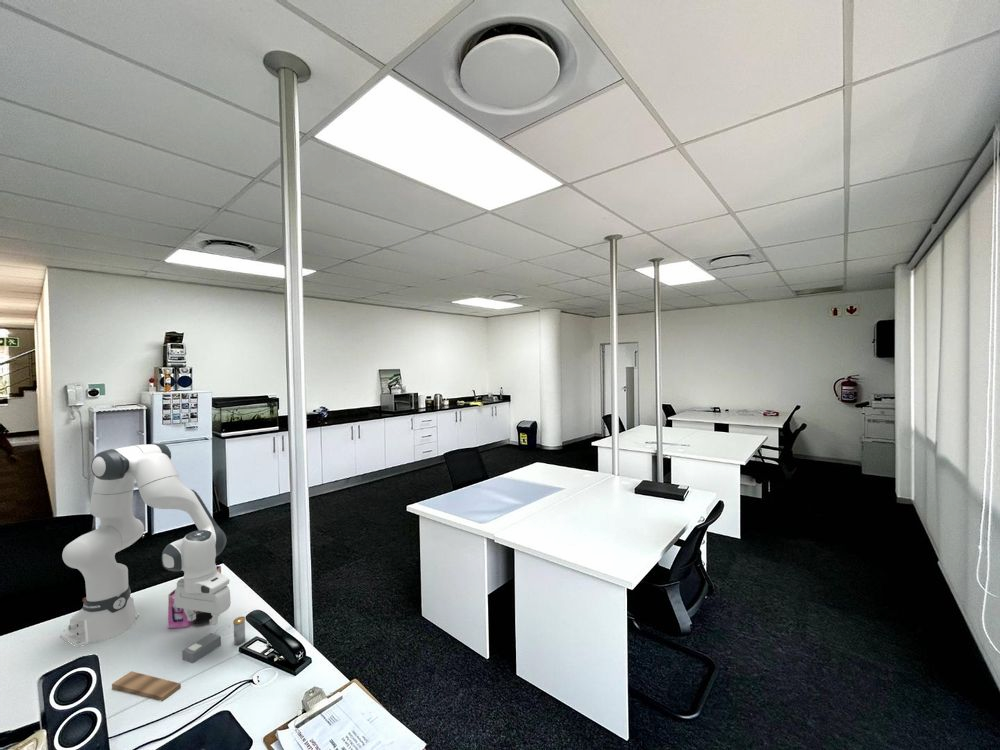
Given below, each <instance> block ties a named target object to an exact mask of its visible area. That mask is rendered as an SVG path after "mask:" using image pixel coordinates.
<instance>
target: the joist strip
mask: <svg viewBox="0 0 1000 750" xmlns="http://www.w3.org/2000/svg"><path fill="white" fill-rule="evenodd" d="M181 687H182V685H181V683H180V682H175V681H172V680H167V679H164V678H160V677H156V676H153V675H147V674H144V673H139V672H136V671H133V670H132V671H129V672H127V673H126V674H124V675H123V676H122V677H120V678H119V679H117V680H116V681H114V682H113V683H111V689H112V691H118V692H123V693H127V694H131V695H135V696H138V697H139V696H140V697H143V698H146V699H147V698H148V699H152V700H156V701H159V700H161V701H160V702H164V701H165V700H166V699H168V698H169V697H171V696H172V695H173V694H174V693H176V692H177V691H178V690H180V689H181ZM163 700H164V701H163Z"/></svg>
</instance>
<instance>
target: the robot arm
mask: <svg viewBox="0 0 1000 750" xmlns="http://www.w3.org/2000/svg"><path fill="white" fill-rule="evenodd" d="M90 467H91V472H92V474H93V476H94V477H95V478H94V481H93V485H92V489H91V497H90V504H89V513H90V514H91V515H92V516H93V517H96V518H99V521H100V525H99V527H98V528H96V529H94V530H91V531H88V532H87V533H84V534H81V535H80V536H78V537H77V538H75V539H74V540H72V541H71V542H69V543H68V544H66V545H65V547H64V548H63V551H62V554H61V556H62V557H61V558H62V560H63V562H64V564H65V565H66V566H67V567H69V568H71V569H77V570H78V571H79V572H80V573H81V574H82V576H83V578H84V581H85V583H84V584H85V594H86V596H85V597H83V598H82V601H81V602H83V606H82V608H81V609H80V610H79V611H78V612H76V613H75V614H74V615H72V617H70V620H69V624H68V627H67V628H66V629H65V630H64V631H62V632H61V633H60V634H59V637H60V638H61V639H62V638H63V639H62V640H64V639H65V640H67V641H69V642H70V643H72V644H73V645H75V646H81V647H83V646H82V645H84V646H86V645H89V644H93V643H99V642H103V641H107V640H110V639H113V638H115V637H117V636H119V635H121V634H123V633H126V632H127V631H129V630H130V629H132V628H133V627H134V625H136V622H137V621H136V620H137V619H138V618H139V617H140V614H139V612H136V607H135V601H134V598H133V597H131V592H132V591H131V586H130V585H129V569H128V566H127V565H125V564H122V563H119V562H117V560H116V557H115V556H116V553H118V552H121V551H122V550H124V549H126V548H129V547H130V546H131V545H133V544H135V543H136V542H137V541H138V540H139V539H140V538H141V537H142V536H143V535H144V532H145V525H144V523H143V522H142V520H140V519H139V518H137V517H135V515H134V513H133V506H132V505H133V497H134V496H133V495H134V487H135V481H136V485H137V489H138V492H139V495H140V497H141V499H142V501H143V502H144V504H145V505H147V506H149V507H150V508H154V509H158V510H180V511H183V512H185V513H187V514H188V515H189V516H190V517H191V520H192V522H193V523H194V525H195V526H196V528H197V530H194V531H191V532H189V533H187V534H186V535H185V536H184V537H183V538H180V539H177V540H175V541H173V542H171V543H168V544H167V545H166V546H165V547H164V549H163V550H162V554H161V565H162V567H163V568H164V569H166V570H168V571H171V572H181V571H182V572H183V573H184V574H183V577H182V578H179V580H177V582H176V588H175V589H174V590H175V596H174V605H175V606H176V608H182V609H184V612H185V613H186V615H187V619H188V621H193V620H195V619H196V614H195V613H194V611H193V610H195V611H201V612H208V613H211V615H212V616H213V617H212V618H211V619H210V620H208V621H209V625H210V626H216V625H217V624H218V622H219V617H220V615H221V614H223V613H224V612H226V611H228V610H229V609H230V607H231V603H232V602H231V590H230V587H229V586H228V585H229V584H230V578H229V577H228V576H226V575H223V574H222V572H221V573H220V572H218V571H217V567H216V566H217V564H216V558H217V556H219V555H220V554H222V552H223V550H224V549H225V547H226V545H227V542H228V541H227V540H228V539H227V536H226V533H225V532H224V530H223V529H221V527H220V526H219V524H217V522H216V521H215V519H214V518H213V516H212V514H211V512H210V511H209V509H208V507H207V506H206V504H205V503H204V501H203V499H202V498H201V496H200V495H199V493H197V492H196V490H194V489H191V488H189V487H187V486H186V485H185V484H184V483H183V482H182V480H181V478H180V476H179V473H178V471H177V469H176V467H175V465H174V463H173V461H172V452H171V450H170V448H169V447H168V446H167V445H166V444H164V443H156V442H155V443H150V444H149V443H148V444H135V445H134V444H133V445H132V444H131V445H130V446H129V445H128V446H123V447H119V448H115V449H113V448H110V449H106V450H102V451H100V452H98V453H97V454H96V455H94V457H93V458H92V461H91V465H90ZM65 640H64V641H65ZM67 641H66V642H67ZM70 643H69V644H70ZM72 644H71V645H72ZM73 645H72V646H73ZM75 646H74V647H75Z"/></svg>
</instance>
